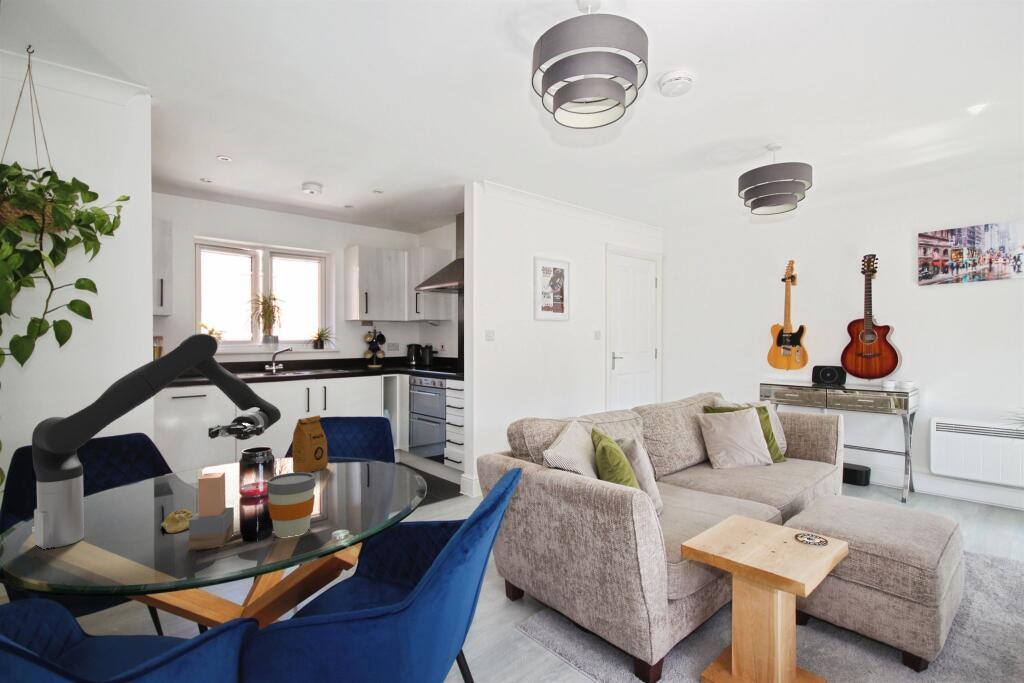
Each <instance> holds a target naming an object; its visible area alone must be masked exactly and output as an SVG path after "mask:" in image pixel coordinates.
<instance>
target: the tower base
mask: <svg viewBox="0 0 1024 683" xmlns="http://www.w3.org/2000/svg"><path fill="white" fill-rule="evenodd" d="M234 523H235V522H233V523H232V524H231V525H230V526H229V527H228V528H227V529H226V531H225V532H224V533H214V534H201V535H188V551H191V550H204V549H205V550H206V549H216V548H215V547H220V548H222V547H221V546H224V545H225V543H226V542H227V541H228V540H229V539H230V538H231V537H232V535H233V534H234V533H235V532H234V531H235V528H234V527H235V524H234ZM234 535H235V534H234ZM232 538H233V537H232ZM232 538H231V539H232ZM231 539H230V540H231ZM230 540H229V541H230ZM229 541H228V542H229ZM228 542H227V543H228ZM227 543H226V544H227ZM225 546H226V545H225ZM225 546H224V547H225Z"/></svg>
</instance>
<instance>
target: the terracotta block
mask: <svg viewBox="0 0 1024 683" xmlns="http://www.w3.org/2000/svg"><path fill="white" fill-rule="evenodd" d="M197 484H198V485H197V486H198V492H197V493H198V512H199V517H207V516H217V515H221V514H222V513H223V511H224V510H225V509H226V508H227V507H226V472H225V471H224V472H211V473H203V474H202V475H201V476H199V478H198V479H197Z"/></svg>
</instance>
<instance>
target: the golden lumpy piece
mask: <svg viewBox="0 0 1024 683" xmlns="http://www.w3.org/2000/svg"><path fill="white" fill-rule="evenodd" d="M194 515H195V514H194V513H193V512H192V511H190V510H189V509H177V510H174V511H172V512H170V514H169V515H168V516H167V517H166V518H165V519H164V521H163V522H162V523H161V524H160V526H161V527H163V529H164V530H165V531H166V532H167V533H168V534H177V533H181V532H184V531H187V530H188V531H189V520H190V519H191V518H192V517H193V516H194Z"/></svg>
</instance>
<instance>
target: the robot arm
mask: <svg viewBox="0 0 1024 683" xmlns="http://www.w3.org/2000/svg"><path fill="white" fill-rule="evenodd" d="M217 351H218V342H217V339H216V338H215V337H214V336H213V335H211V334H209V333H203V332H200V333H199V332H198V333H195V334H192V335H190V336H188V337H186V338H185V339H184V340H183V341H181V343H180V344H179V345H177V347H175V348H174V349H173V350H171V351H169V352H168V353H166V354H164V355H163V356H160V357H157V358H156V359H154V360H151V361H150V362H147V363H146V364H143V365H142V366H139V367H138V368H136V369H134V370H131V371H130V372H128V373H127V374H125V375H123V376H122V377H121V378H120V377H119V379H117V380H115V382H113V383H112V384H111V385H109V387H108V388H107V389H106V390H104V392H103V393H102V394H101V395H100V396H99V397H98V398H97V399H96V400H95V401H94V402H92V403H91V404H90V405H89V404H88V406H85V407H84V408H82V409H81V410H79V411H77V412H74V413H73V414H71V415H69V416H67V417H63V416H53V417H48V418H45V419H43V420H42V421H40V422H39V423H38V424H36V426H35V428H34V429H33V432H32V436H31V453H32V464H33V469H34V471H35V472H34V473H35V476H36V505H37V506H36V508H35V509H33V510H34V511H33V521H34V522H33V523H34V525H33V526H34V528H33V529H34V530H33V531H34V533H33V534H34V545H35V544H36V545H37V546H39V547H41V548H42V549H41V548H40V549H41V550H43V549H45V550H47V549H46V548H49V549H53V547H55V548H60V547H65V546H69V545H72V544H75V543H77V542H80V541H81V540H83V539H84V538H85V524H84V522H85V521H84V520H85V519H84V517H85V516H84V468H83V467H84V466H83V464H82V463H81V461H80V459H79V457H78V453H77V450H78V449H79V448H81V447H82V446H84V445H85V444H86V443H87V442H89V441H90V440H91V439H92V438H94V437H95V436H96V435H98V433H100V432H102V430H104V429H105V428H107V427H108V426H109V425H111V424H112V423H113V422H115V421H116V420H118V419H120V418H122V417H123V416H125V415H126V414H128V413H129V412H131V411H132V410H134V409H136V408H137V407H139V406H140V405H142V404H144V403H145V402H147V401H148V400H150V399H152V398H153V397H154V396H156V395H157V394H158V393H160V392H161V391H162V390H164V389H165V388H167V387H168V386H169V385H170V384H172V383H173V382H174V381H175V380H177V379H178V378H179V377H180V376H181V375H183V374H184V373H186V372H187V371H189V370H191V369H193V370H196V371H197V372H199V373H200V374H201V375H203V377H204V378H206V379H207V380H208V381H210V382H211V383H212V384H214V386H216V387H217V388H218V389H219V390H220V391H221V392H222V393H223V394H224V395H225V396H226V397H227V398H228V399H229V400H230V401H231V402H232V403H233V404H234V405H235V406H236V407H237V408H238V409H239V410H240V411H241V412H245V411H248V410H250V409H252V408H258V410H256V411H253V412H247V413H245V414H242V415H240V416H237V417H235V418H234V419H233V420H232V421H231V423H230V424H229V423H228V424H223V425H220V424H216V425H214V426H211V427H208V429H207V431H208V434H207V437H209V439H211V440H212V439H216V438H218V437H221V438H228V437H233V438H235V439H237V440H240V441H244V440H249V439H250V438H253V437H254V436H257V437H259V436H261V435H263V434H264V433H265V431H266V430H267V429H269V428H270V427H272V426H273V425H274V424H276V423H277V422H279V420H281V418H282V417H281V416H282V414H281V411H280V409H279V408H278V407H277V406H276V405H274V404H272V403H270V402H268V401H267V400H265V399H263V398H262V397H261V396H259V395H258V394H257V393H256V392H255V391H254V390H253V389H252V388H251V387H250V386H249V384H247V383H246V382H245V381H244V380H243V379H241V378H240V377H238V376H237V375H235V374H233V373H232V372H230V371H229V370H227V369H226V368H225V367H223V366H222V365H221V364H219V362H218V361H217V360H216V358H215V357H214V356H215V355H216V353H217ZM37 546H36V547H37ZM39 547H38V548H39ZM51 547H52V548H51Z"/></svg>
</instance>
